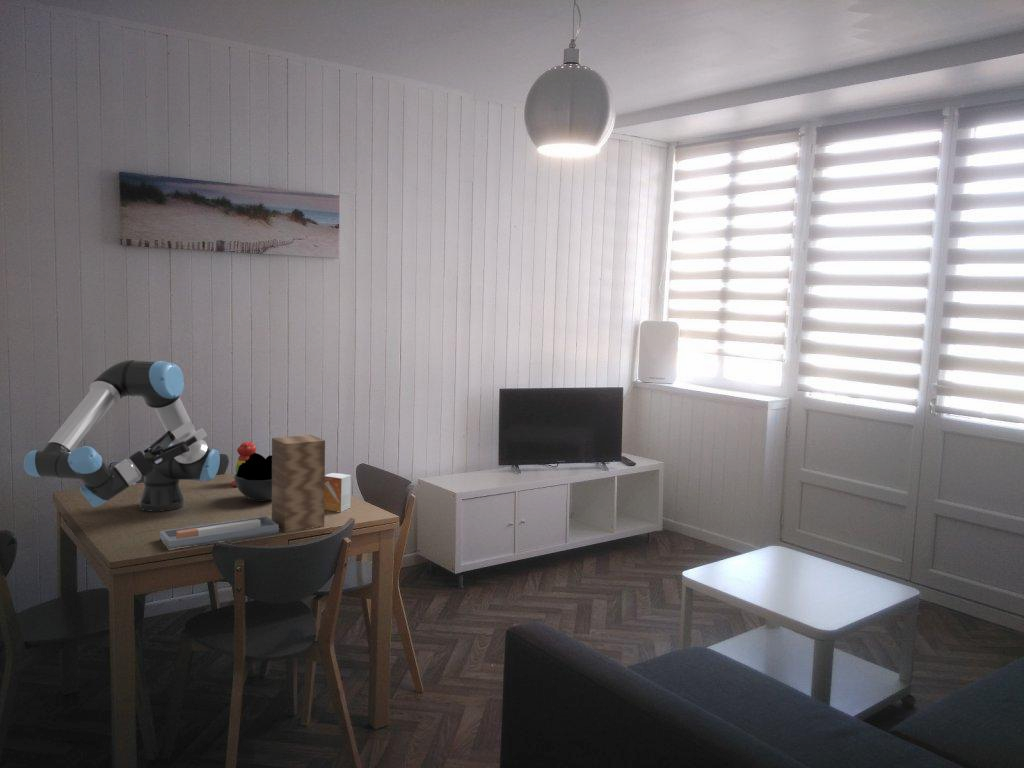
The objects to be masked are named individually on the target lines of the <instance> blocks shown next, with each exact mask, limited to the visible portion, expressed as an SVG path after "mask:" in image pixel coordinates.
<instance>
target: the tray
mask: <svg viewBox="0 0 1024 768" xmlns="http://www.w3.org/2000/svg"><path fill="white" fill-rule="evenodd" d="M254 519H258V520H260V527H254V528H248V529H241V530H234V531H228V532H221V533H215V534H208V535H201V536H195V537H188V538H181V539H176V531H180V530H186V529H193V528H202V527H208V526H215V525H221V524H228V523H234V522H241V521H248V520H254ZM279 530H280V529H279V525H278V524H277V523H275V522H274V521H272V518H269V517H268V516H267V515H263V516H262V515H261V516H257V517H256V516H255V517H249V518H241V519H235V520H229V521H221V522H214V523H213V522H212V523H207V524H201V525H200V524H199V525H191V526H186V527H179V528H172V529H165V530H159V540H160V539H161V540H162V541H163V542H164V543H165V544H166V546H168V548H169V549H171V548H177V547H185V546H194V545H203V546H208V545H207V544H210V545H215V544H214V543H215V542H218V541H228V542H230V541H229V540H235V541H238V540H237V539H241V540H245V539H244V538H247V539H251V538H250V537H254V538H258V537H257V536H260V537H264V536H265V535H266V536H272V534H273V535H277V534H279ZM228 542H227V543H228Z"/></svg>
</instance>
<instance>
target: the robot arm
mask: <svg viewBox="0 0 1024 768" xmlns="http://www.w3.org/2000/svg"><path fill="white" fill-rule="evenodd" d="M184 380H185V378H184V374H183V372H182V369H181V368H180V367H179V366H178V365H177V364H175V363H173V362H167V361H164V360H159V361H158V360H157V361H156V360H150V361H149V360H133V359H127V360H122V361H119V362H117V363H115V364H113V365H111V366H109V367H108V368H106V369H105V370H104V371H103V372H101V373H100V374H99V375H98V376H96V378H95V379H93V381H92V382H91V383H90V385H89V392H88V393H87V394H86V395H85V396H84V398H83V399H82V400H81V402H79V404H78V405H77V406H76V407H75V408H74V410H73V411H72V413H70V415H69V416H68V417H67V419H66V420H65V421H64V423H63V424H61V426H60V427H59V428H58V430H57V431H56V432H55V433H54V435H53V436H52V437H51V438H50V440H49V441H48V442H47V443H46V445H44V447H43V448H42V449H37V450H35V449H34V450H31V451H29V452H28V453H27V454H26V455H25V457H24V459H23V469H24V471H25V472H26V474H27V475H29V476H32V477H38V478H41V479H42V478H51V479H52V478H54V479H67V480H68V479H69V480H80V481H81V483H83V485H82V486H81V487H80V488H79V491H80V492H81V494H82V496H84V498H85V499H86V500H87V502H88V503H89V504H90V505H91V506H92V507H93V508H96V507H100V506H101V505H103V504H104V503H106V502H109V501H110V500H112V499H113V498H114V497H116V496H117V495H119V494H120V493H122V492H123V491H125V490H126V489H128V488H129V487H131V486H132V485H133V486H136V484H137V482H139V481H140V480H141V479H142V477H143V484H144V485H143V489H142V492H141V496H140V498H139V501H138V508H139V507H140V508H141V509H144V510H152V511H151V512H162V511H161V510H168V511H172V510H171V509H174V510H176V509H175V508H178V509H180V508H179V507H181V508H182V506H183V505H184V506H185V497H184V495H183V492H182V489H181V486H180V480H182V481H193V482H210V481H212V480H214V478H215V477H216V475H217V474H218V471H219V467H220V464H221V463H220V460H221V458H220V457H221V456H220V455H221V454H220V452H219V451H218V450H217V449H215V448H212V449H211V448H209V446H208V444H207V442H206V441H205V440H204V438H206V437H207V436H208V434H207V433H206V431H205V429H204V428H203V427H201V428H199V429H197V430H196V427H195V425H194V424H193V423H192V420H191V419H190V417H189V415H188V411H187V410H186V408H185V406H184V404H183V402H182V399H181V396H182V393H183V390H184V387H185V382H184ZM129 396H130V397H141V398H142V399H143V401H144V403H145V404H146V406H147V407H149V408H151V409H154V411H155V413H156V415H157V417H158V418H159V420H160V422H161V425H162V426H163V429H164V430H165V433H164V434H163V435H161V437H159V438H158V439H157V440H156V441H155V442H153V443H152V444H151V445H148V446H147V447H145V449H144V450H143V451H141V450H138V451H135V453H133V454H131V455H130V456H129V458H125V459H122V460H121V461H120V462H119V463H117V464H115V465H114V466H112V467H110V468H109V467H108V465H107V464H106V462H105V461H104V459H103V458H102V455H100V454H99V453H98V452H97V451H96V450H95V449H94V448H93V447H91V446H87V445H84V446H81V445H82V444H83V443H84V441H86V439H87V437H88V436H89V435H90V434H91V432H92V431H93V430H94V428H95V427H96V426H97V425H98V423H99V422H100V421H101V420H102V418H103V417H104V415H105V414H106V413H107V412H108V411H109V409H110V408H111V407H112V405H115V404H118V403H119V402H120V400H121V399H122V398H125V397H129ZM184 506H183V507H184ZM140 508H139V509H140ZM141 509H140V510H141ZM144 510H143V511H144Z"/></svg>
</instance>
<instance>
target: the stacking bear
mask: <svg viewBox="0 0 1024 768" xmlns="http://www.w3.org/2000/svg"><path fill="white" fill-rule="evenodd" d="M256 450H257V447H256V444H255V443H253V442H252V441H251V440H249V441H245V442H242V443H241V444H240V446H238V447H237V448H236V451H237V453H238V454H239V456H238V457H237V460H236V465H235V474H237V472H238V469H239V466H240V465H241V464H242V463H245V461H246V460H248V459H249V457H250V455H252V454H253V453H256V452H257V451H256ZM230 486H231V487H233V486H237V485H236V483H235V480H233V481H232V482H231V483H230Z"/></svg>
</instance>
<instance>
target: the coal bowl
mask: <svg viewBox="0 0 1024 768" xmlns="http://www.w3.org/2000/svg"><path fill="white" fill-rule="evenodd" d="M233 477H234V481H235V483H236V485H237V487H236V488H237V489H238V490H239V492H240V493H241V494H242V495H243V496H245V497H246V498H248V499H250V500H252V501H257V502H266V501H269V500H272V454H271V455H270V454H269V455H268V456H266V457H265V456H263V455H262V454H259V453H256V452H255V453H253V454H252V455H250V457H249V459H248V460H246V461H245V463H242V464H241V465H240V466H239V469H238V472H237V474H236V473H235V474H234V476H233Z"/></svg>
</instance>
